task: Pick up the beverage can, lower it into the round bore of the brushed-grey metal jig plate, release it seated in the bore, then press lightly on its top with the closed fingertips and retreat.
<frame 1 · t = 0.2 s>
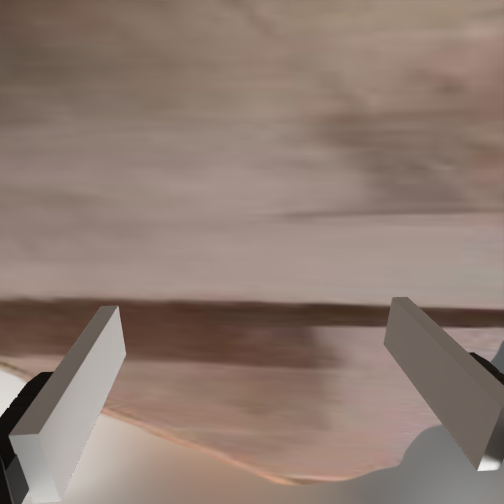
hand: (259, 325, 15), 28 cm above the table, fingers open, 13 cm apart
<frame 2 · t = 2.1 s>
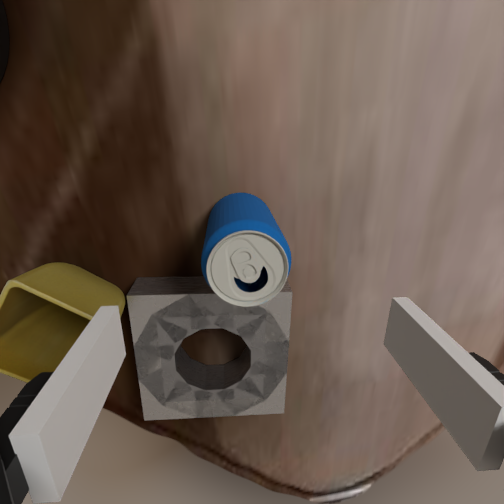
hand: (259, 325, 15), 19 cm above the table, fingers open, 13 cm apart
beverage can: (240, 222, 33), on the table
jig: (214, 337, 37), on the table
flower pot: (88, 291, 34), on the table
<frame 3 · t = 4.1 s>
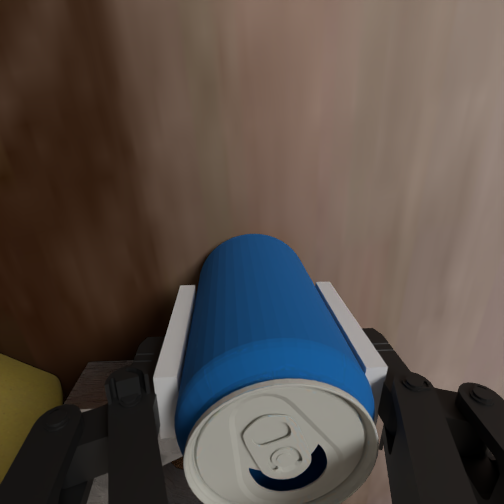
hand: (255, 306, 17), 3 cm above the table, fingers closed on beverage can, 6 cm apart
beverage can: (251, 277, 20), on the table, touching gripper
jig: (211, 439, 25), on the table
flower pot: (13, 382, 22), on the table
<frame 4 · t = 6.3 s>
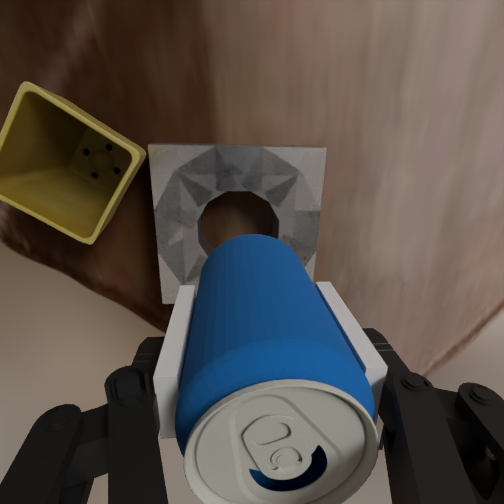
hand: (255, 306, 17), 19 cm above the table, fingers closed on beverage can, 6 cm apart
beverage can: (251, 277, 20), point 16 cm above the table, touching gripper
jig: (237, 220, 35), on the table
flower pot: (103, 159, 32), on the table
when the fingers open (5 cm above the table, at t = 8.8 s): beverage can drops 2 cm, resting in jig.
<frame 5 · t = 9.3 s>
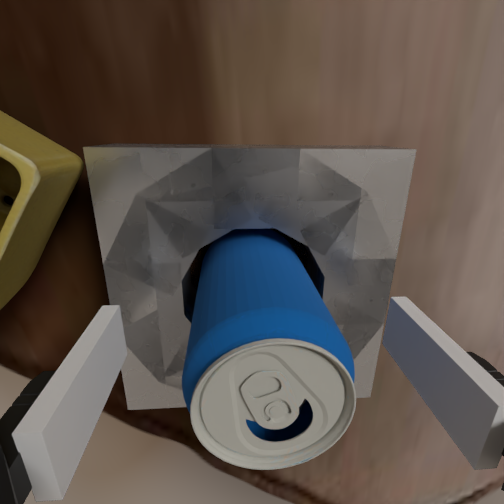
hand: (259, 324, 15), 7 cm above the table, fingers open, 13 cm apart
beverage can: (249, 266, 22), resting in jig
jig: (249, 267, 22), on the table
flower pot: (23, 173, 19), on the table
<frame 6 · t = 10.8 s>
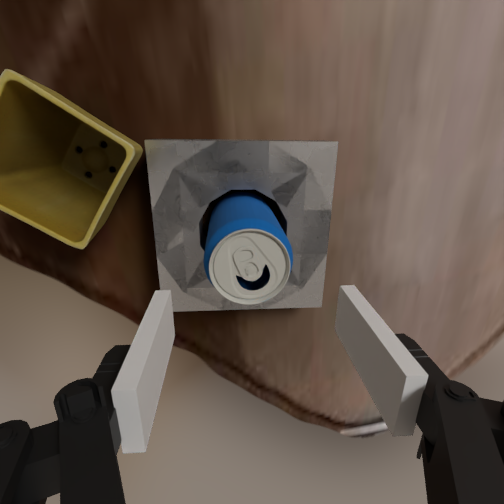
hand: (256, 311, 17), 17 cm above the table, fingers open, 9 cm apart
beverage can: (241, 221, 33), resting in jig
jig: (241, 221, 33), on the table
flower pot: (98, 157, 30), on the table
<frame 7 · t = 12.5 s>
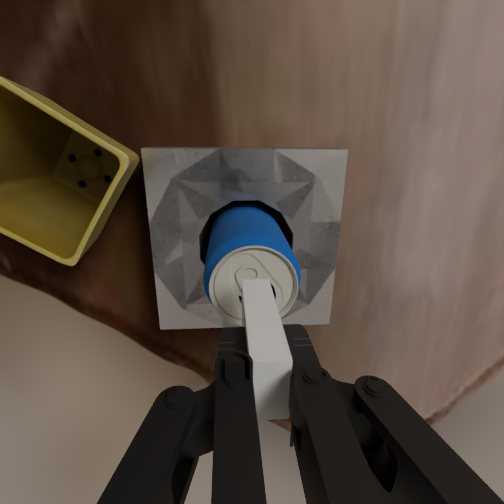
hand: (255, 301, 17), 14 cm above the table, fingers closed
beverage can: (244, 232, 31), resting in jig
jig: (244, 233, 31), on the table
flower pot: (92, 166, 28), on the table
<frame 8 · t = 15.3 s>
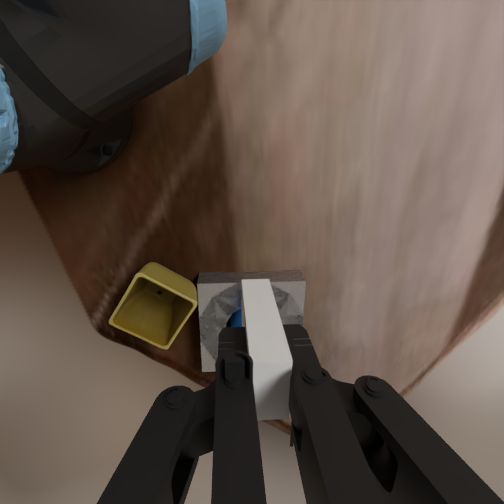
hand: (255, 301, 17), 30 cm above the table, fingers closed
jig: (249, 314, 53), on the table
flower pot: (165, 282, 50), on the table
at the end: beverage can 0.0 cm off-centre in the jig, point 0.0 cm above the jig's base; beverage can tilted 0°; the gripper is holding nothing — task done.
